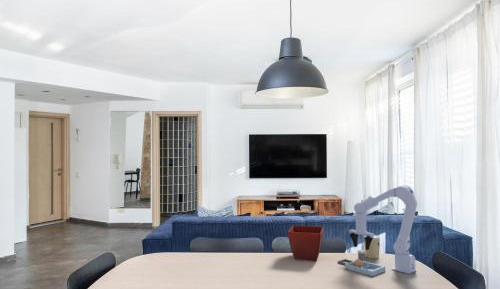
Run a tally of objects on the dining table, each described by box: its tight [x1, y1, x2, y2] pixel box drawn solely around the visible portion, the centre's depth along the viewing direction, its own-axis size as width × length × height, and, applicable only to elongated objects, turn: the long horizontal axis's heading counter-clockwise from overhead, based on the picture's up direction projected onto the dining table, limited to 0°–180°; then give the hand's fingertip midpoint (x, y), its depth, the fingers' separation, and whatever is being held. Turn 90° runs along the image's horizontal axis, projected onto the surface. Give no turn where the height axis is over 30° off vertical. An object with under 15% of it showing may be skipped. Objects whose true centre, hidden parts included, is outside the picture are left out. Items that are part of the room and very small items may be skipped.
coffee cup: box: [362, 234, 381, 259], centre depth 208 cm, size 9×9×12 cm
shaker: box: [357, 249, 367, 262], centre depth 196 cm, size 4×4×6 cm
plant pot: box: [287, 225, 324, 262], centre depth 207 cm, size 19×19×17 cm
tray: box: [344, 260, 386, 277], centre depth 183 cm, size 16×12×2 cm
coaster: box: [337, 258, 354, 266], centre depth 195 cm, size 7×7×1 cm
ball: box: [353, 258, 363, 268], centre depth 186 cm, size 4×4×4 cm
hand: (361, 248), depth 196 cm, fingers open, 7 cm apart
